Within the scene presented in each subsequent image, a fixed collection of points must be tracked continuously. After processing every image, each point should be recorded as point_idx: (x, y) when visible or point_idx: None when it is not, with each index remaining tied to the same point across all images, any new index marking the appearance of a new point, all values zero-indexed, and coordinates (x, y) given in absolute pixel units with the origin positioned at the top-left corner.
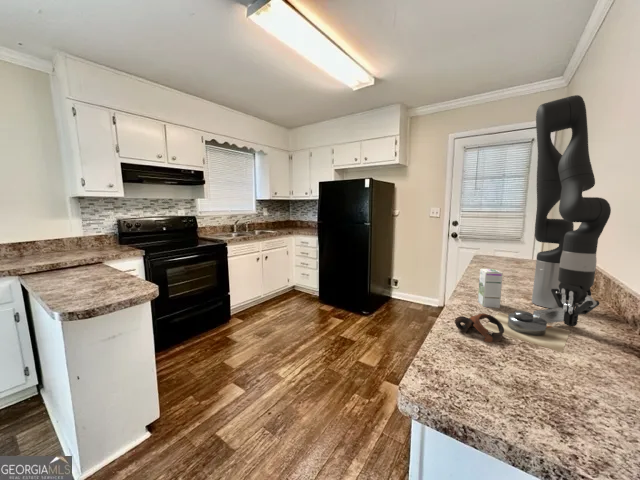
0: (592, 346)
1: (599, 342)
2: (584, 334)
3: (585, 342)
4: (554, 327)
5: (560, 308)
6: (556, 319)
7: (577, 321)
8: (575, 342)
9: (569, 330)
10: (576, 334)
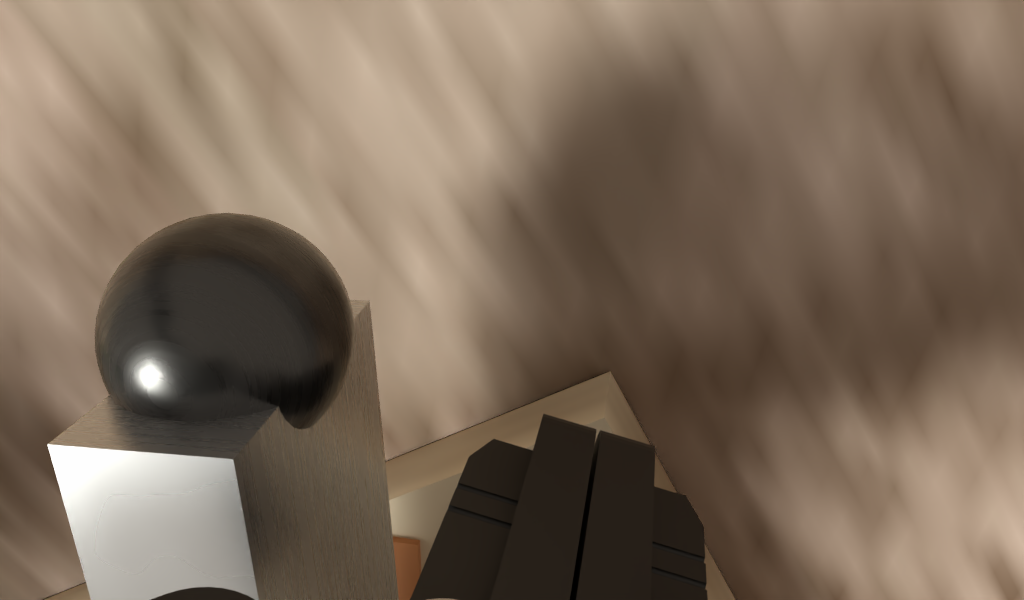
0: (998, 451)
1: (981, 156)
2: (657, 35)
3: (868, 400)
4: (436, 527)
5: (125, 528)
6: (373, 591)
7: (705, 566)
8: (803, 539)
9: (595, 422)
10: (612, 200)
